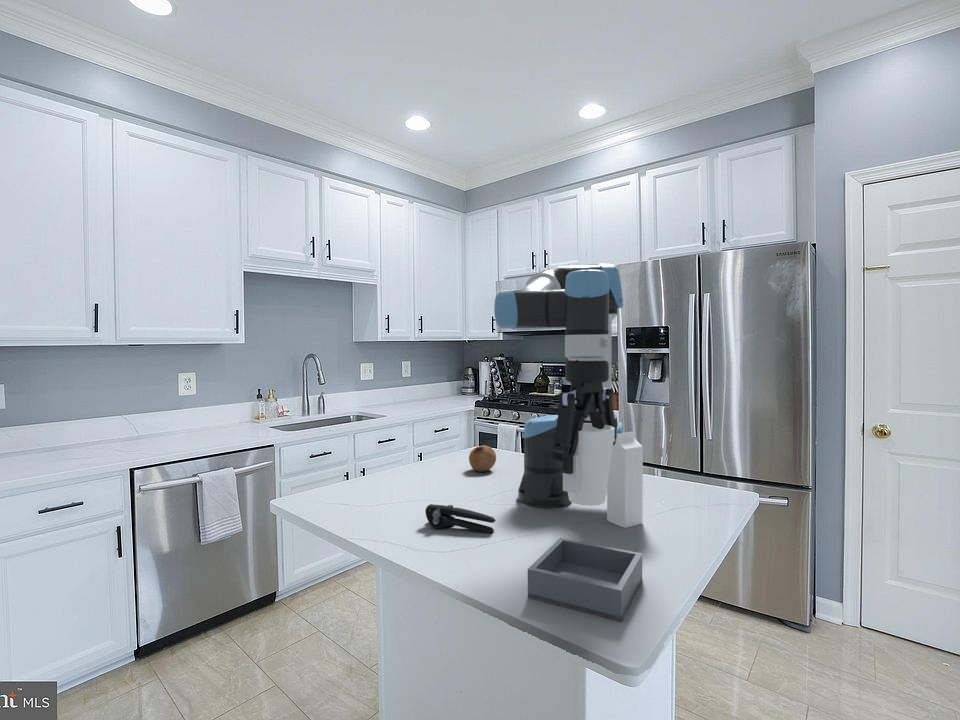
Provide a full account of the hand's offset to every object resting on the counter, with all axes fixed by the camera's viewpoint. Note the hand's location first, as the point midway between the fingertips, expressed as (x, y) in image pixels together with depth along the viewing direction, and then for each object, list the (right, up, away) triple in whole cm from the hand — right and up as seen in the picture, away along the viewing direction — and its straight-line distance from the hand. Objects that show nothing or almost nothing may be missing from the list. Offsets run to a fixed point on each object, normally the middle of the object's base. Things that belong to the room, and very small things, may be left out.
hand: (586, 485), depth 90 cm
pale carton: (+16, -18, +34) cm, 42 cm away
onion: (-18, -16, +85) cm, 88 cm away
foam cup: (0, -3, 0) cm, 3 cm away
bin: (0, -19, +1) cm, 19 cm away
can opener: (-24, -18, +31) cm, 43 cm away
